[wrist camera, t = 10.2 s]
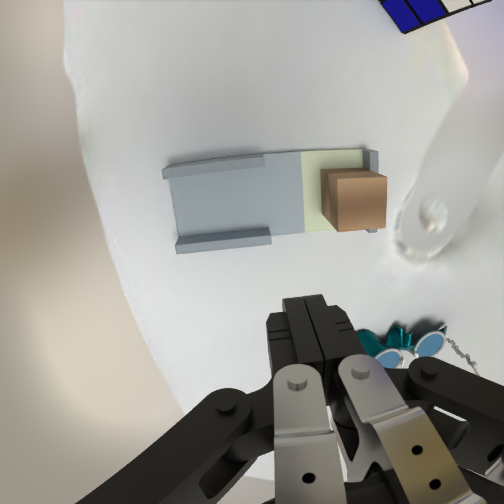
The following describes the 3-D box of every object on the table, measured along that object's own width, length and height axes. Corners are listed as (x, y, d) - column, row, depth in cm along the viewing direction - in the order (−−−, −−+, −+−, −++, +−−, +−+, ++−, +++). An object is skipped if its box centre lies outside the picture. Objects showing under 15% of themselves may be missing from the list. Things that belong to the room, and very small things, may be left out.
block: (320, 169, 31) (337, 179, 26) (363, 167, 31) (387, 177, 26) (321, 214, 33) (338, 232, 28) (363, 210, 33) (385, 227, 28)
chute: (169, 165, 31) (161, 169, 28) (367, 148, 32) (380, 152, 28) (181, 242, 35) (176, 254, 32) (367, 223, 35) (378, 233, 32)
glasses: (346, 374, 45) (384, 478, 27) (341, 334, 42) (389, 449, 23) (442, 338, 44) (500, 419, 26) (446, 295, 40) (521, 378, 22)
